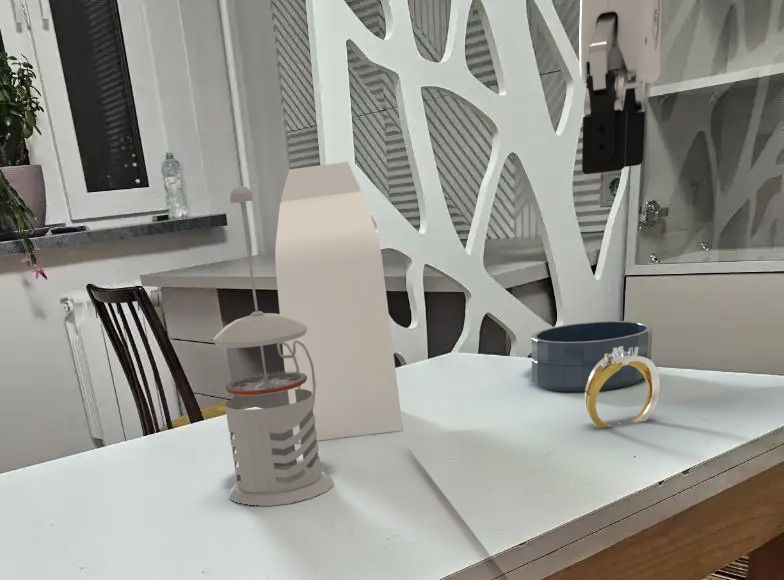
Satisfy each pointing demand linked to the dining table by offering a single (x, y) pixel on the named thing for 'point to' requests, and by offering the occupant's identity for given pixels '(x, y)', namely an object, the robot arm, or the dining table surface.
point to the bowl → (586, 353)
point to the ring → (619, 360)
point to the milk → (336, 302)
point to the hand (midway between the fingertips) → (613, 169)
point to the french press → (271, 411)
